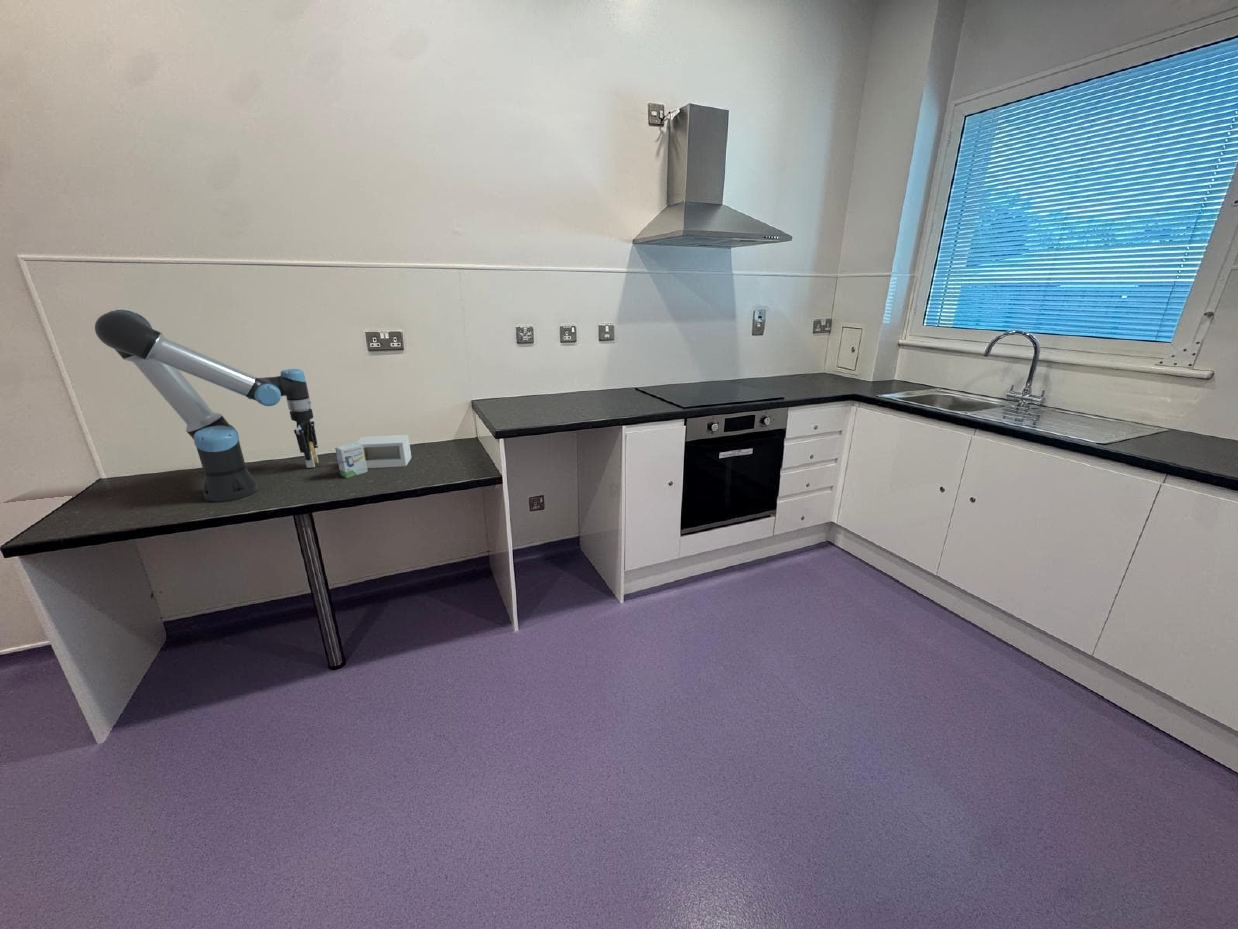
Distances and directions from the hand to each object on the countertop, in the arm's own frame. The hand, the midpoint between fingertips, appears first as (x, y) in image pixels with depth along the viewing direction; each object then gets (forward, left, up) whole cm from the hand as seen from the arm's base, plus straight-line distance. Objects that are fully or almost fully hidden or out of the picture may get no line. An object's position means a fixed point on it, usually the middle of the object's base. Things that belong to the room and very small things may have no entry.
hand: (312, 465), depth 201 cm
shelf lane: (+27, 0, -1) cm, 27 cm away
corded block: (+9, 0, 0) cm, 9 cm away
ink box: (+19, -11, -1) cm, 22 cm away
